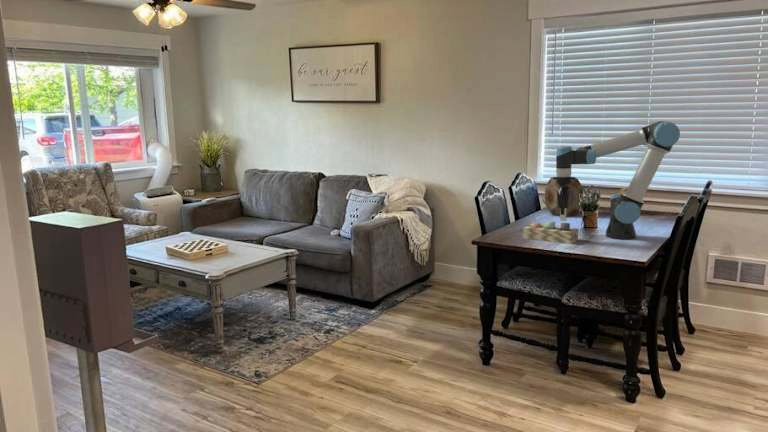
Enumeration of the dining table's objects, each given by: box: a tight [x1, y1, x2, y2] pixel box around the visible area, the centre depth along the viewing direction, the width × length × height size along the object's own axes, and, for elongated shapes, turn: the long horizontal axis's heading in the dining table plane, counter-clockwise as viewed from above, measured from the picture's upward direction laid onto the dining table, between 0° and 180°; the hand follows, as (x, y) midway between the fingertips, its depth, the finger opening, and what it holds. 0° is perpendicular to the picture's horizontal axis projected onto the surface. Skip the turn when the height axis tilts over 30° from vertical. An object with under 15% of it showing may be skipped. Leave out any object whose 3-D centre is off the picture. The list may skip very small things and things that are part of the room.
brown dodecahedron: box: [543, 176, 584, 217], centre depth 376 cm, size 22×24×24 cm
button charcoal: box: [560, 222, 571, 231], centre depth 304 cm, size 5×5×4 cm
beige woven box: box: [522, 223, 579, 245], centre depth 309 cm, size 26×12×6 cm, turn 53°
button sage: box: [545, 220, 556, 230], centre depth 308 cm, size 5×5×4 cm
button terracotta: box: [531, 222, 542, 228], centre depth 313 cm, size 5×5×4 cm
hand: (563, 220), depth 304 cm, fingers closed
